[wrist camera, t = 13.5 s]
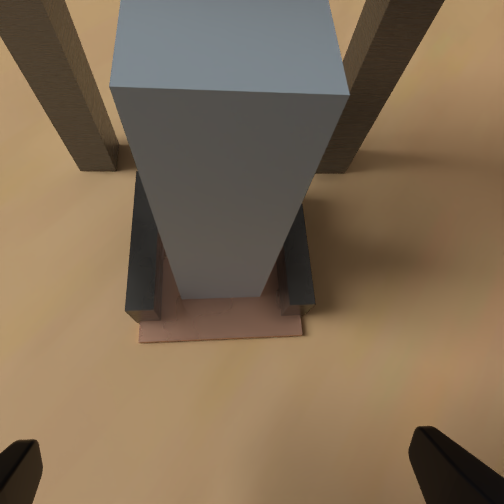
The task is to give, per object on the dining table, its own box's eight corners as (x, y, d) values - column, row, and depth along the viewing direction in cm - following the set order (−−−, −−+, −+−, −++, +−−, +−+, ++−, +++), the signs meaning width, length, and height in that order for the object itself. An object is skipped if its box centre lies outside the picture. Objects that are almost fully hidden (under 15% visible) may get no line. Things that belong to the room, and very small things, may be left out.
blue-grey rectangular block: (259, 296, 18) (350, 95, 6) (181, 299, 17) (109, 85, 6) (255, 227, 19) (318, -43, 7) (182, 228, 19) (128, -58, 7)
